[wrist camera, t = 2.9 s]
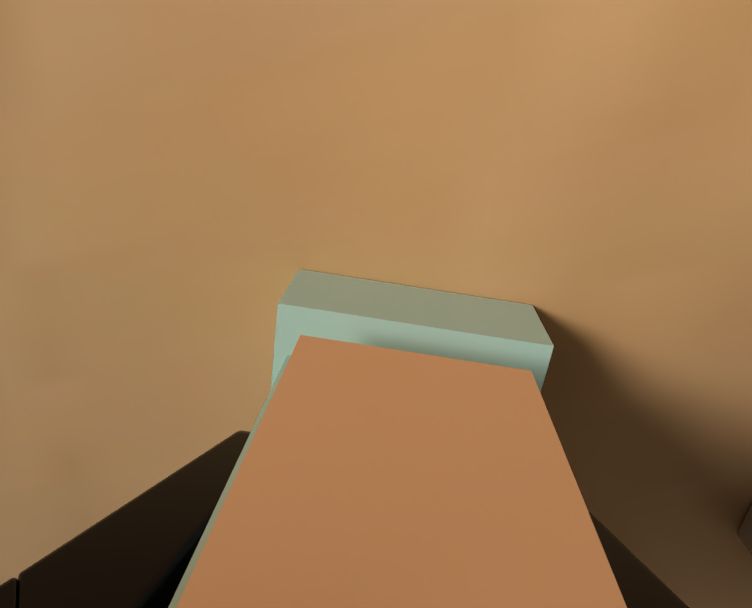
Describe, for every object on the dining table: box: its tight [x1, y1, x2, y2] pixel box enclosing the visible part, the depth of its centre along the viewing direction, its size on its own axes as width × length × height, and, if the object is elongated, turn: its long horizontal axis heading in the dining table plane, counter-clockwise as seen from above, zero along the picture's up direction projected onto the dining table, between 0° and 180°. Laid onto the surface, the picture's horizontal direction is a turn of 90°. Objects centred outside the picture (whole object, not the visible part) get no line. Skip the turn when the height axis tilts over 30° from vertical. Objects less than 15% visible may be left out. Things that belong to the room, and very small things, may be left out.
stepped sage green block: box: [168, 269, 627, 608], centre depth 6 cm, size 4×4×9 cm
